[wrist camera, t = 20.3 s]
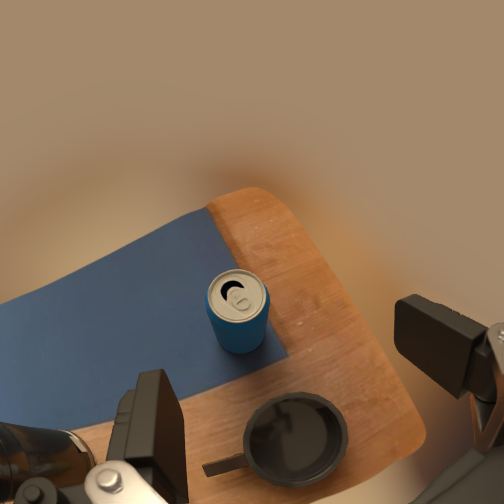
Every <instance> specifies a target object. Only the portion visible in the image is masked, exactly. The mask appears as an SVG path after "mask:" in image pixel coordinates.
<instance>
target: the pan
mask: <svg viewBox="0 0 504 504" xmlns="http://www.w3.org/2000/svg"><path fill="white" fill-rule="evenodd" d="M347 444H348V431H347V425H346V423H345V420H344V418H343V416H342V414H341V412H340V411H339V410H338V409H337V408H336V407H335V406H334V405H333V404H332V403H331V402H330V401H328V400H326V399H324V398H323V397H321V396H319V395H317V394H311V393H306V392H292V393H284V394H282V395H279V396H277V397H274V398H272V399H270V400H268V401H267V402H266V403H264V404H263V405H262V406H260V407H259V408H258V409H257V410H256V411H255V412H254V414H253V415H252V417H251V418H250V419H249V421H248V423H247V426H246V429H245V432H244V436H243V447H244V454H245V457H246V459H247V461H248V463H249V466H250V467H251V468H252V469H253V470H254V471H255V472H256V474H257V475H258V476H259V477H260V478H262V479H264V480H266V481H268V482H270V483H272V484H274V485H276V486H282V487H288V488H296V487H304V486H309V485H311V484H314V483H316V482H318V481H320V480H323V479H324V478H325V477H327V476H328V475H329V474H330V473H331V472H333V471H334V470H335V469H336V468H337V466H338V465H339V463H340V462H341V460H342V458H343V457H344V455H345V452H346V448H347Z"/></svg>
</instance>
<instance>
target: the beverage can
mask: <svg viewBox="0 0 504 504" xmlns="http://www.w3.org/2000/svg"><path fill="white" fill-rule="evenodd" d="M269 305H270V298H269V293H268V290H267V288H266V287H265V285H264V284H263V282H262V281H261V280H260V279H259V278H258V277H257V276H255V275H254V274H252V273H250V272H248V271H245V270H229V271H226V272H224V273H222V274H220V275H219V276H218V277H216V278H215V279H214V281H213V282H212V283H211V285H210V287H209V289H208V291H207V294H206V298H205V306H206V310H207V313H208V316H209V318H210V321H211V324H212V327H213V329H214V332H215V334H216V337H217V340H218V342H219V343H220V345H221V346H222V347H223V348H225V349H226V350H228V351H230V352H232V353H237V354H244V353H248V352H251V351H253V350H254V349H256V348H257V347H258V346H259V345H260V344H261V342H262V341H263V339H264V336H265V330H266V324H267V318H268V311H269Z"/></svg>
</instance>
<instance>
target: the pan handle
mask: <svg viewBox="0 0 504 504" xmlns="http://www.w3.org/2000/svg"><path fill="white" fill-rule="evenodd" d="M246 466H249V463H248V461H247V459H246V457H245V454H244V453H239V454H236V455H234V456H232V457H229V458H225V459H222V460H218V461H214V462H211V463H207V464H203V465H202V467H203V469H204V472H205V474H206V476H207V477H211V476H215V475H218V474H222V473H226V472H229V471H233V470H236V469H239V468H243V467H246Z"/></svg>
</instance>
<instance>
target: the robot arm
mask: <svg viewBox="0 0 504 504" xmlns="http://www.w3.org/2000/svg"><path fill="white" fill-rule="evenodd" d="M394 321H395V322H394V343H395V346H396V348H397V350H398V352H399V353H400V354H401V355H403V356H404V357H405V358H407V359H408V360H409V361H410V362H411V363H413V364H414V365H415V366H417V367H418V368H419V369H420V370H421V371H423V372H424V373H425V374H426V375H428V376H429V377H430V378H431V379H433V380H434V381H435V382H436V383H438V384H439V385H440V386H442V387H443V388H444V389H445V390H447V391H448V392H449V393H450V394H452V395H453V396H454V397H455V398H457V399H459V398H460V397H462V396H463V395H464V394H466V393H467V392H468V391H470V392H471V393H472V394H471V397H470V406H471V413H472V420H473V428H474V438H475V444H474V447H472V448H471V449H470V450H468V451H467V452H466V453H465V454H463V455H462V456H461V457H460V458H458V459H457V460H456V461H455V462H453V463H452V464H451V465H449V466H448V467H447V468H445V469H444V470H443V471H442V472H441V473H440V474H439V475H438V476H437V477H436V478H435V479H434V481H433V482H432V483H431V484H430V485H429V486H428V487H427V488H426V489H425V490H424V491H423V492H422V493H421V494H420V495H419V496H418V497H417V498H416V499H415V500H413V501H412V502H411V503H409V504H504V322H503V323H497V324H494V325H492V326H491V327H490V328H488V327H486V326H484V325H482V324H480V323H478V322H476V321H474V320H472V319H470V318H468V317H466V316H464V315H460V313H458V312H456V311H454V310H453V311H452V309H450V308H448V307H446V306H444V305H442V304H438V303H434V302H432V301H429V300H428V299H426V298H423V297H421V296H419V295H417V294H412V295H410V296H408V297H405V298H403V299H400V300H398V301H397V302H396V304H395V320H394ZM114 424H115V425H113V429H112V434H111V438H110V442H109V447H108V452H107V456H106V461H105V462H103V463H100V464H98V465H97V466H95V462H94V458H93V455H92V453H91V451H90V449H89V448H88V446H87V445H86V443H85V442H84V441H83V440H82V439H81V438H80V437H79V436H77V435H76V434H74V433H72V432H70V431H67V430H59V429H57V430H52V429H43V428H35V427H28V426H21V425H15V424H9V423H3V422H0V503H6V502H14V504H185V503H189V497H188V485H187V471H186V455H185V433H184V418H183V414H182V410H181V407H180V404H179V402H178V400H177V398H176V396H175V393H174V391H173V389H172V386H171V384H170V382H169V379H168V377H167V375H166V373H165V371H164V370H163V369H159V370H153V371H148V372H142V373H140V374H139V377H138V381H137V386H136V389H134V390H128V391H127V392H126V394H125V395H124V396H123V398H122V399H121V400H120V402H119V405H118V409H117V415H116V417H115V421H114Z"/></svg>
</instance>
